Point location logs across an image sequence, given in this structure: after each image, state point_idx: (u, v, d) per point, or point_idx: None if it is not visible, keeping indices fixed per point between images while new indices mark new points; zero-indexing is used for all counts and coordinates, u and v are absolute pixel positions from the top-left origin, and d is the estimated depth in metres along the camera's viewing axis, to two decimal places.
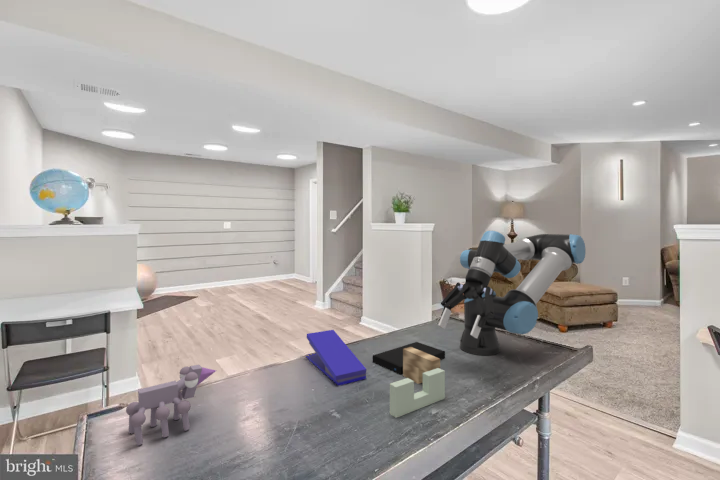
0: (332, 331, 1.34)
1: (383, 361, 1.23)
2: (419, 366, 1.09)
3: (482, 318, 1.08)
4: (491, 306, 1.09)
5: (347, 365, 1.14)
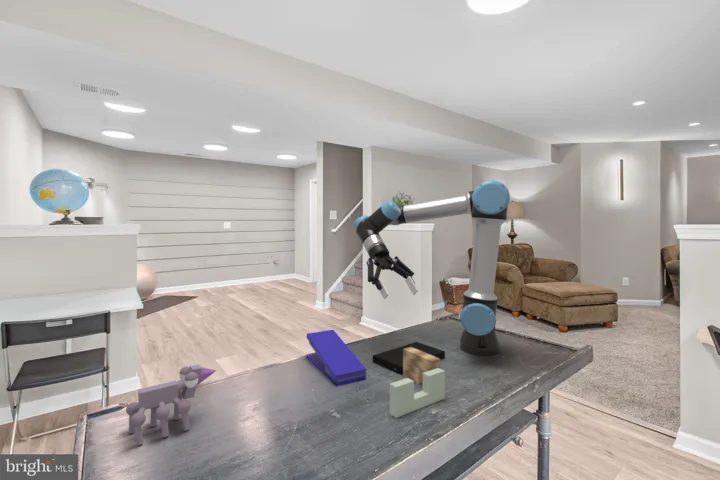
0: (332, 331, 1.35)
1: (383, 361, 1.23)
2: (419, 366, 1.09)
3: None
4: (369, 272, 1.25)
5: (347, 365, 1.14)
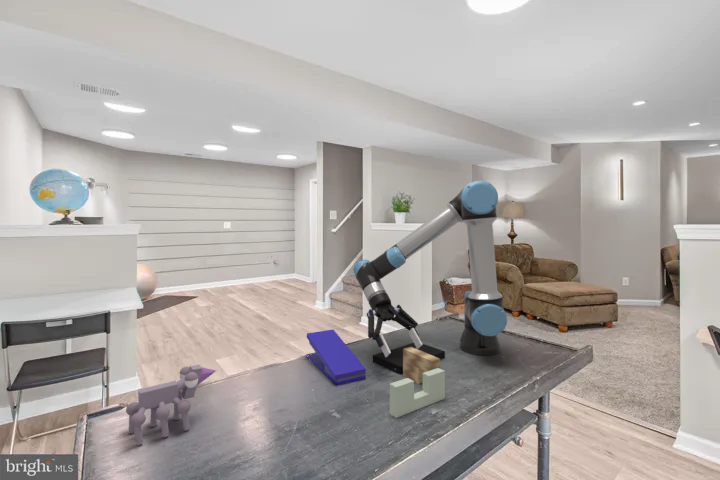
0: (332, 331, 1.35)
1: (383, 361, 1.23)
2: (419, 366, 1.09)
3: None
4: (369, 326, 1.17)
5: (346, 365, 1.14)
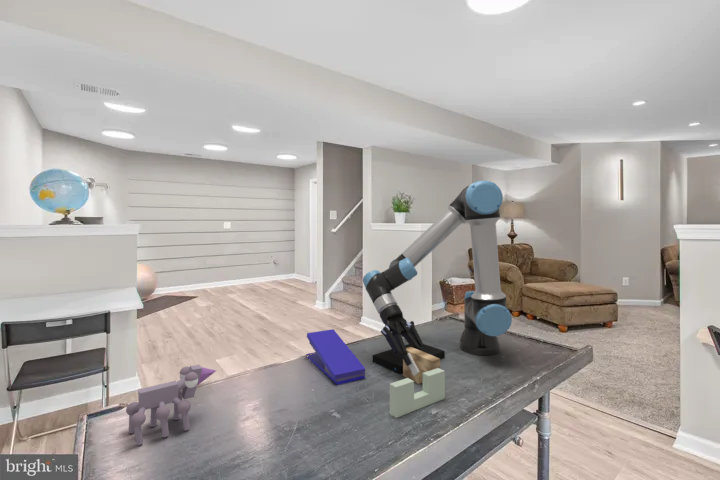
0: (332, 331, 1.35)
1: (383, 361, 1.23)
2: (419, 366, 1.09)
3: None
4: (392, 345, 1.14)
5: (346, 364, 1.15)
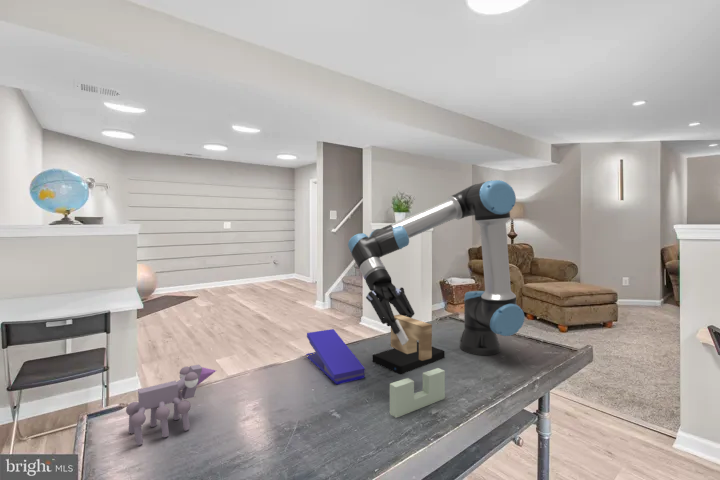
0: (332, 330, 1.35)
1: (383, 361, 1.23)
2: (408, 334, 0.96)
3: None
4: (379, 311, 1.01)
5: (346, 364, 1.15)
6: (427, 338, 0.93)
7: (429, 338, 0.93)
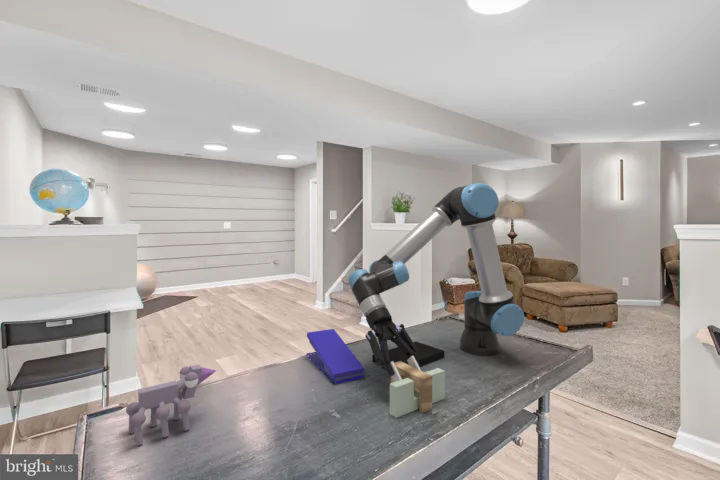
0: (332, 330, 1.36)
1: None
2: None
3: None
4: (375, 352, 1.01)
5: (345, 364, 1.15)
6: (428, 390, 0.94)
7: (430, 390, 0.94)
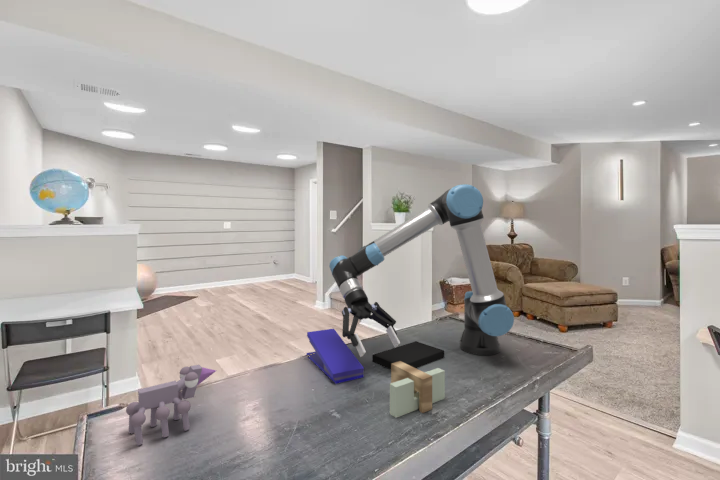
0: (332, 330, 1.36)
1: (383, 360, 1.24)
2: None
3: None
4: (344, 325, 1.11)
5: (345, 363, 1.15)
6: (428, 390, 0.94)
7: (429, 390, 0.94)
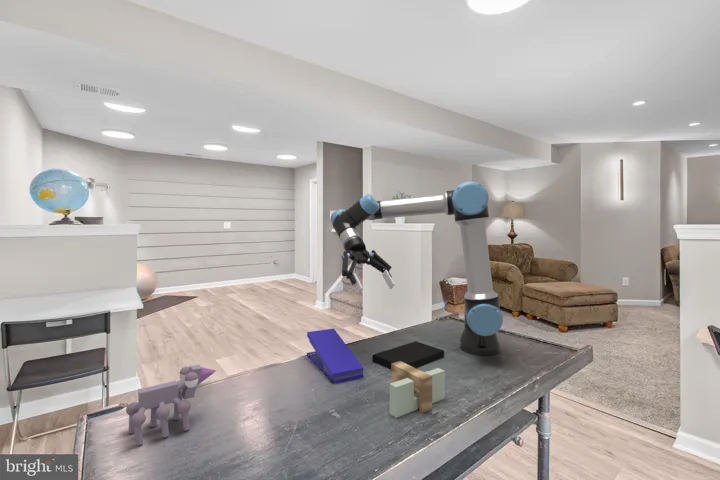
0: (332, 330, 1.36)
1: (383, 360, 1.24)
2: None
3: None
4: (343, 266, 1.22)
5: (344, 363, 1.16)
6: (428, 390, 0.94)
7: (429, 390, 0.94)
